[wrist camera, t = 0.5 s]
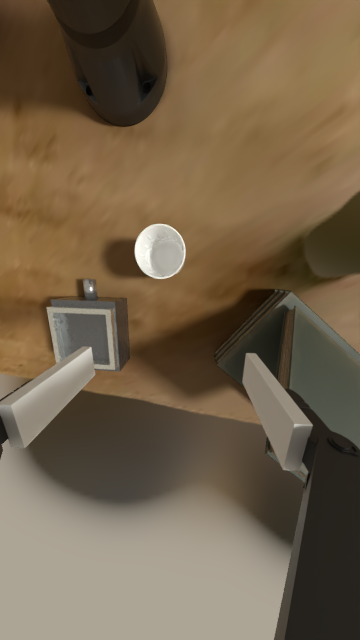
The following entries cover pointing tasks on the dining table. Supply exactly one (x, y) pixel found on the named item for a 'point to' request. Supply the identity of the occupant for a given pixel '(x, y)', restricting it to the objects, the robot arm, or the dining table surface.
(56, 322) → the grey open box
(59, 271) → the dining table surface
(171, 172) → the dining table surface
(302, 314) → the book stack
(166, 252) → the white cup
